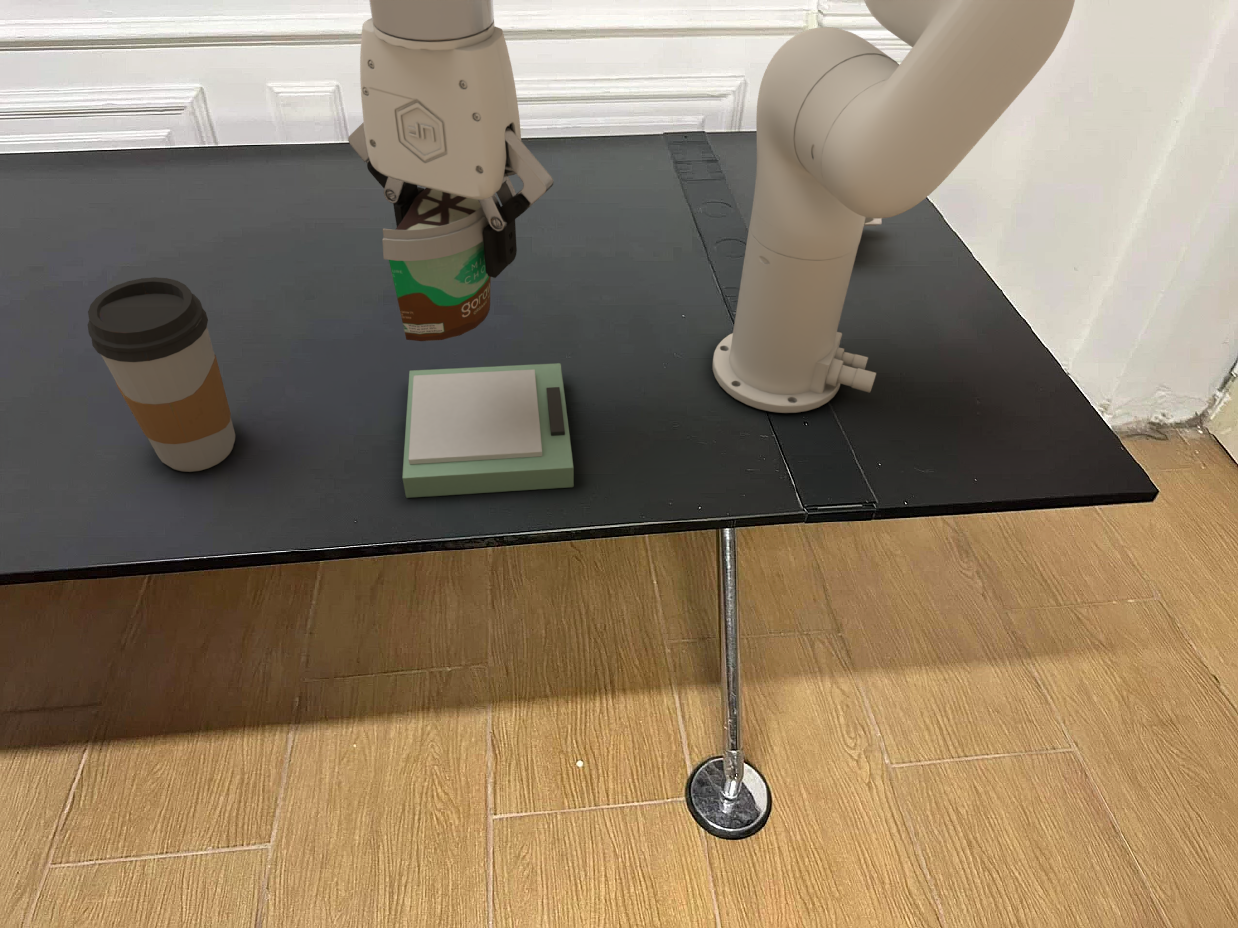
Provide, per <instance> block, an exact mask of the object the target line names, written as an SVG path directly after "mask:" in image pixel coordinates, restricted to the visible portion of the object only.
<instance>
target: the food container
mask: <svg viewBox="0 0 1238 928" xmlns="http://www.w3.org/2000/svg"><path fill="white" fill-rule="evenodd" d="M488 224H489V222H488V220H487V218H486V216H485V214H484V212H483V210H482V207H481V205H480V203H479V201H478V199H471V198H466V197H462V196H457V195H453V194H450V193H446V192H442V191H438V190H434V189H430V188H426V187H424V190H423V191H422V192H421V193H420V194H419V195H418V196H417V197H416V198H415V200H414V201H413V203H412V205H411V206H410V208H409V210H408V212H407V214H406V215H405V217H404V218H403V220H402V221H401V223H400V224H399V225H398V227H397V226H396V228H395V229H391V228H382V236H383V238H382V239H381V240H382V253H383V254H382V255H383V260H388V263H389V268H390V273H391V277H392V282H393V286H394V290H395V294H396V301H397V305H398V309H399V314H400V318H401V322H402V323H401V324H402V327H403V332H404V335H405V339H406V341H413V342H433V341H434V342H435V341H444V340H447V339H452V338H455V337H459V336H462V335H465V334H466V333H468V332H470V331H472V330H474V329H476V328H477V327H478V326H479V325H481V324H482V323H483V322H484V321H485V319H486V318H487V317H488V315H489V313H490V310H491V281H492V280H491V279H492V277H490V276H488V274H486V268H485V255H484V243H483V230H484V228H485V227H486V226H487V225H488Z"/></svg>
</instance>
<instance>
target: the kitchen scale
mask: <svg viewBox="0 0 1238 928" xmlns="http://www.w3.org/2000/svg"><path fill="white" fill-rule="evenodd" d="M563 378H564V377H563V372H562V364H561V363H559V362H558V363H557V362H556V363H538V364H518V365H517V364H516V365H500V366H499V365H498V366H496V365H495V366H477V367H476V366H475V367H459V368H458V367H457V368H437V369H435V368H434V369H417V370H416V369H415V370H414V369H413V370H409V372H408V387H407V401H406V418H405V432H404V433H405V434H404V448H403V465H402V477H401V478H402V483H403V489H404V495H405V498H406V499H409V498H411V499H412V498H424V497H425V498H426V497H439V496H442V497H443V496H455V495H472V494H473V495H475V494H488V493H489V494H490V493H502V492H503V493H505V492H519V491H535V490H549V489H551V490H552V489H564V488H566V489H567V488H574V486H575V485H574V484H575V483H574V477H575V476H574V475H575V474H574V472H575V471H574V461H573V452H572V444H571V435H570V427H569V419H568V413H567V412H568V411H567V404H566V396H565V395H566V394H565V388H564V387H565V386H564V379H563Z"/></svg>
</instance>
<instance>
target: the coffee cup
mask: <svg viewBox="0 0 1238 928" xmlns="http://www.w3.org/2000/svg"><path fill="white" fill-rule="evenodd" d="M87 314H88V321H87V331H88V335H89V337H90V338H91V344H92V348H93V349H94V350H95V351H96V352H97V354H99V355H100V356H101V357H102V359H103V361H104V363H105V365H106V366H107V368H108V370H109V372H110V374H111V376H112V377H113V379H114V381H115V384H116V387H117V389H118V390H119V392H120V394H121V396H122V398H123V399H124V401H125V403H126V404H127V406H128V408H129V410H130V411H131V413H132V415H133V417H134V419H135V420H136V422H137V424H138V426H139V427H140V429H141V431H142V433H143V434H144V435H145V437H146V438H147V440H148V441H149V443H150V445H151V447H152V448H153V450H154V452H155V454H156V455H157V457H158V459H159V460H160V461H161V463H163V464H165V465H166V466H168V467H169V468H171V469H173V470H175V471H179V472H189V473H192V472H200V471H203V470H207V469H210V468H212V467H214V466H216V465H218V464H220V463H221V462H223V461H224V460H225V459H226V458H227V457H228V456H229V455H230V454H231V452H232V450H233V449H234V444H235V441H236V433H235V429H234V424H233V420H232V417H231V409H230V404H229V401H228V398H227V394H226V390H225V386H224V381H223V378H222V374H221V371H220V366H219V362H218V359H217V355H216V354H215V352H214V349H213V345H212V344H213V343H212V341H211V337H210V332H209V329H208V322H209V319H208V314H207V312H206V311H205V309H204V307H203V305H202V302H201V300H200V299H199V298H198V296H196V295H195V294H194V293H192V291H191V289H190V288H189V287H188V286H187V284H184V283H183V282H181V281H179V280H176V279H173V278H168V277H156V276H154V277H142V278H137V279H132V280H127V281H124V282H122V283H118V284H116V285H114V286H111V287H110V288H108V289H106V290H105V291H103V292H101V293H100V294H99V295H98V296H96V297H95V299H94V300H93V301H92V302H91V304H89V308H88V311H87Z"/></svg>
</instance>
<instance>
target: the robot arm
mask: <svg viewBox="0 0 1238 928" xmlns="http://www.w3.org/2000/svg"><path fill="white" fill-rule="evenodd" d="M368 1H369V8H370V15H371V18H369V19H367V20H366V21H364V22H363V23H362V25H361V27H362V28H361V36H360V38H361V39H360V54H359V55H360V56H359V77H360V78H359V79H360V80H359V82H360V99H361V109H362V111H361V112H362V120H363V122H362V123H361V124H360V125H358V127H357V128H356V129H355V130H354V131H352V132H351V134H350V135H348V138H347V141H348V143H349V145H350V147H351V148H352V149H353V150H354V151H355V153H356V154H357V155H358V156H359V158H360V159H361V160H362V161H363V163H366V167H367V170H368V172H369V173H370V174H371V176H372V177H373V178H374V179H375V180H376V181H377V182H378V184H379V185H380V186H381V187H382V188H383V197H384V199H385V200H386V201H387V202H388V203H390V204H392V205H393V212H394V217H395V224H396V228H397V227H398V225H399V224H400V223H401V221H402V220H403V218H404V217H405V215H406V214H407V212H408V210H409V208H410V206H411V205H412V203H413V201H414V200H415V198H416V197H417V196H418V195H419V194H420V193H421V192H422V191H423V190H424V189H425V188H430V189H434V190H438V191H442V192H446V193H450V194H453V195H457V196H462V197H466V198H471V199H478V201H479V203H480V205H481V207H482V210H483V212H484V214H485V216H486V218H487V220H488V222H489V224H488V225H487V226H486V227H485V228H484V230H483V243H484V255H485V268H486V274H488V276H490V277H491V278H493V279H496V278H497V277H498V276H499V275H500V274H501V273H503V271H504V270H506V269H507V267H508V266H509V265H511V264H512V263H513V262H514V261H515V259H516V256H517V252H518V247H517V230H516V229H517V227H516V219H517V218H519V217H520V216H522V215H523V214H524V213H525V212H526V211H528V209H529V208H530V207H531V206H533V205H534V204H535V203H536V202H537V201H538V200H539V199H540V198H541V197H543V196H544V195H545V194H546V193H547V192H548V191H549V190H550V189H551V188H552V187H553V185H554V183H555V182H554V178H553V177H552V175H551V174H550V173H549V172H548V171H547V169H546V168H545V167H544V166H543V165H542V163H541V162H540V161H539V160H538V159H537V158H536V157H535V155H534V154H533V153H532V151H530V150H529V148H528V147H527V146H526V145H525V144H524V142H523V141H522V134H521V120H520V113H519V112H520V111H519V110H520V109H519V103H518V97H517V96H518V95H517V88H516V81H515V78H514V72H513V66H512V63H511V62H512V61H511V57H510V53H509V50H508V44H507V42H506V38H505V33H504V31H503V29H502V28H500V27H498V26H495V14H494V13H495V12H494V0H368ZM863 1H864V4H865V6H866V7H867V9H868V11H869V13H870V14H871V15H872V17H873V18H874V19H875V20H876V21H877V22H878V23H879V24H880V25H881V26H882V27H883V28H884V29H886V30H887V31H888V32H890V33H891V34H893V36H895V37H896V38H898V39H899V40H901V41H902V42H904V43H905V44H906V45H908V46H909V47H911V49H910V50H909V52H908V53H907V54H906V56H905V57H904V58H903V60H902V61H901V62H900V63H898V62H897V61H896V60H895V59H893V58H892V57H890V56H889V55H888V54H886V53H885V52H884V51H882V50H881V49H879V48H878V47H877V46H875V45H874V44H873V43H871V42H869V41H868V40H866V39H865V38H863V37H861V36H859V35H857V34H856V33H854V32H852V31H848V30H846V29H842V28H839V27H838V28H837V27H833V26H824V27H823V26H821V27H814V28H810V29H807V30H803V31H802V32H799V33H798V34H795V35H794V36H793V37H790V39H789V40H787V41H785V42H784V43H783V45H781V46H780V47H779V48H778V50H777V51H776V52H775V53H774V54H773V56H772V58H771V59H770V61H769V63H768V64H767V66H766V68H765V70H764V73H763V75H762V78H761V80H760V84H759V90H758V94H757V103H756V115H755V116H756V118H755V119H756V120H755V121H756V122H755V123H756V124H755V125H756V128H755V129H756V131H755V132H756V133H755V134H756V171H755V182H754V183H755V185H754V193H753V200H752V208H751V214H750V221H749V226H748V231H747V239H746V245H745V252H744V258H743V264H742V272H741V278H740V284H739V291H738V297H737V304H736V311H735V317H734V324H733V330H732V333H729V334H728V335H727V336H726V337H724V338H723V339H722V340H721V341H720V342H719V343H718V344H717V346H716V348H715V350H714V351H713V357H712V372H713V375H714V378H715V380H716V381H717V383H718V385H719V386H720V388H722V390H724V391H725V392H726V393H727V394H728V395H729V396H730V397H732V398H734V399H735V400H736V401H738V402H741V403H743V404H744V405H746V406H749V407H752V408H755V409H757V410H761V411H766V412H771V413H778V414H779V413H780V414H796V413H801V412H802V413H803V412H808V411H811V410H815V409H817V408H820V407H822V406H823V405H825V404H827V403H829V402H830V401H831V400H832V399H833V398H834V397H835V396H836V395H837V393H838V392H839V390H840V387H841V385H844V386H848V387H851V389H855V390H859V391H861V392H866V393H869V394H870V393H871V391H872V388H873V386H874V382H875V380H876V377H877V372H874V371H871V370H867V369H866V367H867V364H868V361H869V356H865V355H860V354H857V353H851V352H847V351H845V348H843V347H840V344H841V340H842V337H843V333H842V332H840V331H838V328H839V325H840V321H841V317H842V313H843V309H844V305H845V301H846V296H847V293H848V289H849V284H850V280H851V277H852V274H853V273H852V272H853V269H854V265H855V261H856V256H857V253H858V249H859V245H860V243H861V239H862V235H863V231H864V227H865V226H864V223H865V218H866V217H868V218H875V219H881V218H882V219H888V218H892V217H895V216H898V215H901V214H904V213H905V212H907V211H909V210H911V209H913V208H915V207H916V206H917V205H919V204H920V203H922V202H923V201H924V200H926V198H927V197H929V196H930V195H931V194H932V193H934V191H935V190H936V189H938V187H939V186H941V184H942V183H944V181H945V180H946V179H948V177H949V176H950V175H951V173H953V172H954V170H956V168H957V167H958V166H959V165H960V163H961V162H962V161H963V160H964V159H965V158H966V157H967V156H968V154H969V153H970V152H971V151H972V150H973V149H974V147H975V146H976V145H977V144H978V143H979V141H981V139H982V138H983V137H984V136H985V135H986V134H987V132H988V131H989V130H990V129H991V128H992V127H993V125H995V123H997V121H998V120H999V119H1000V118H1001V116H1002V115H1003V114H1004V113H1005V112H1006V110H1007V109H1008V108H1009V107H1010V106H1011V105H1012V104H1013V103H1014V101H1015V100H1016V99H1017V98H1018V97H1019V96H1020V94H1021V93H1022V92H1023V91H1024V89H1025V88H1026V87H1027V86H1029V84H1030V83H1031V81H1032V80H1033V79H1034V78H1035V76H1037V74H1038V73H1039V72H1040V71H1041V70H1042V68H1043V66H1045V64H1046V63H1047V61H1048V60H1049V59H1050V57H1051V56H1052V54H1053V53H1054V51H1055V49H1056V48H1057V46H1058V44H1059V43H1060V41H1061V39H1062V37H1063V35H1064V33H1065V31H1066V28H1067V27H1068V24H1069V21H1070V18H1071V16H1072V12H1073V9H1074V7H1075V6H1074V5H1075V2H1076V0H863ZM514 175H516V176H517V177H518V178H519V179H520V181H521V182H522V188H521V190H519V191H518V192H516V190H515V188H514V186H513V183H512V181H511V179H510V177H509V176H514Z"/></svg>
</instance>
